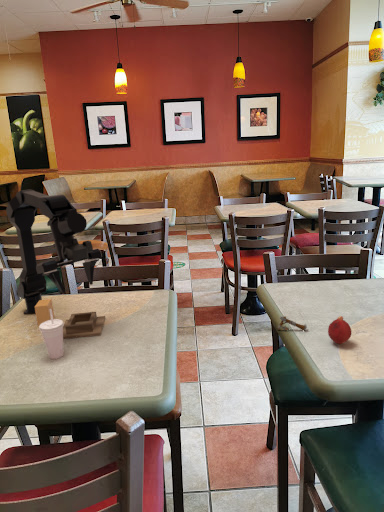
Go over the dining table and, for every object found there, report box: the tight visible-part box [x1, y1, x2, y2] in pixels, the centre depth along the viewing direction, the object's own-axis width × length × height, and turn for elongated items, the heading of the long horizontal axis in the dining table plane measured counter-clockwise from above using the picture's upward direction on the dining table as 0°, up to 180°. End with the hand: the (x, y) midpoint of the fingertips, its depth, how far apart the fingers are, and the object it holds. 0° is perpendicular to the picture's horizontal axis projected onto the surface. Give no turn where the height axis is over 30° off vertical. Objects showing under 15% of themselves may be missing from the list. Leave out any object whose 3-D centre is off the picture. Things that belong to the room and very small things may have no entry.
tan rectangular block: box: [35, 298, 56, 327], centre depth 132 cm, size 6×4×7 cm, turn 6°
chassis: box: [63, 311, 106, 340], centre depth 126 cm, size 13×13×3 cm
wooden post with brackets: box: [277, 315, 308, 331], centre depth 115 cm, size 2×8×4 cm, turn 81°
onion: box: [327, 315, 352, 345], centre depth 105 cm, size 6×6×8 cm
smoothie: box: [38, 309, 64, 360], centre depth 108 cm, size 6×6×14 cm
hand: (77, 288), depth 117 cm, fingers open, 9 cm apart
